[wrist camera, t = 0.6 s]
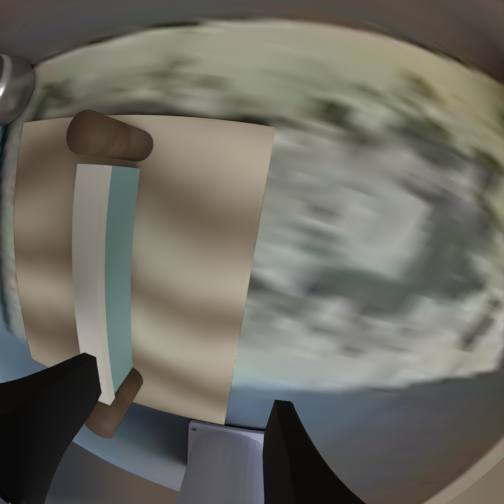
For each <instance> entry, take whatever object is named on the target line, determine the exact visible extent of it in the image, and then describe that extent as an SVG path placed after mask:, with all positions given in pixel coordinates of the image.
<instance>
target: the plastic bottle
mask: <svg viewBox="0 0 504 504" xmlns="http://www.w3.org/2000/svg"><path fill="white" fill-rule="evenodd" d="M34 81H35V80H34V73H33V69H32V67H31V65H30V64H29V63H28V62H26V61H25V60H24V59H22V58H21V57H18V56H13V55H5V54H0V126H4V125H7V124H8V123H10V122H12V121H13V120H15V119H16V118H17V117H18V116H19V115H20V114H21V113H22V111H23V110H24V108H25V107H26V105H27V103H28V101H29V99H30V97H31V94H32V91H33V87H34Z"/></svg>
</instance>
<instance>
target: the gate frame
mask: <svg viewBox="0 0 504 504" xmlns="http://www.w3.org/2000/svg"><path fill="white" fill-rule="evenodd" d="M274 133H275V127H269V126H263V125H257V124H250V123H242V122H235V121H226V120H217V119H207V118H195V117H181V116H160V115H103V114H101V113H98V112H95V111H92V110H84V111H81V112H79V113H78V114H77V115H76V116H75V117H69V118H58V119H48V120H40V121H33V122H26V123H24V125H23V130H22V136H21V142H20V148H19V155H18V163H17V172H16V184H15V201H14V244H15V261H16V273H17V283H18V291H19V298H20V304H21V310H22V316H23V321H24V327H25V331H26V336H27V340H28V345H29V349H30V353H31V356H32V359H33V360H35V361H37V362H39V363H41V364H43V365H45V366H47V367H52V366H54V365H56V364H58V363H61V362H63V361H65V360H67V359H69V358H72V357H74V356H76V355H79V354H80V347H79V341H78V333H77V326H76V317H75V306H74V294H73V276H72V221H73V203H74V191H75V180H76V172H77V164H93V165H108V166H119V167H129V168H139V169H140V174H139V182H138V190H137V198H136V208H135V218H134V230H133V244H132V262H131V345H132V362H133V367H132V369H131V370H130V372H129V373H128V375H127V376H126V378H125V379H124V381H123V382H122V383H121V385H120V386H119V388H118V389H117V391H116V392H115V394H114V395H115V399H114V400H113V402H112V403H111V405H108V404H105V403H103V402H100V401H98V402H97V404H96V406H95V407H94V409H93V411H92V413H91V414H90V416H89V417H88V418H87V420H86V421H85V423H84V424H85V425H86V426H87V427H88V428H89V429H90V430H91V431H92V432H93V433H95V434H97V435H99V436H101V437H104V438H111V437H113V435H114V433H115V431H116V430H117V428H118V426H119V424H120V423H121V421H122V419H123V417H124V416H125V414H126V412H127V410H128V409H129V407H130V405H131V403H132V402H134V403H137V404H140V405H144V406H147V407H150V408H154V409H157V410H161V411H164V412H168V413H172V414H176V415H180V416H184V417H188V418H193V419H197V420H202V421H207V422H212V423H217V424H222V425H224V422H225V417H226V411H227V405H228V400H229V394H230V388H231V382H232V377H233V371H234V365H235V360H236V354H237V348H238V342H239V337H240V331H241V325H242V319H243V314H244V308H245V302H246V296H247V291H248V285H249V279H250V273H251V267H252V262H253V256H254V250H255V244H256V238H257V233H258V227H259V221H260V215H261V209H262V204H263V198H264V192H265V186H266V180H267V174H268V168H269V163H270V157H271V151H272V145H273V139H274Z"/></svg>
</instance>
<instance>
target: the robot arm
mask: <svg viewBox="0 0 504 504" xmlns="http://www.w3.org/2000/svg"><path fill="white" fill-rule="evenodd" d="M101 393H102V391H101V385H100V379H99V373H98V366H97V359H96V357H95V356H93V355H90V354H88V353H85V352H84V353H81V354H79V355H76V356H74V357H72V358H69V359H67V360H65V361H63V362H61V363H58V364H56V365H54V366H52V367H49V368H47V369H45V370H42V371H39V372H37V373H34V374H31V375H29V376H26V377H23V378H20V379H17V380H13V381H9V382H5V383H0V504H9V502H10V503H11V504H44V503H45V500H46V496H47V492H48V490H49V487H50V484H51V481H52V479H53V476H54V474H55V471H56V469H57V467H58V465H59V463H60V461H61V458H62V456H63V454H64V452H65V451H66V449H67V447H68V446H69V444H70V442H71V441H72V440H73V438H74V437H75V435H76V434H77V433H78V431H79V430H80V428H81V427H82V426H83V424H84V423H85V421H86V420H87V418H88V417H89V416H90V414H91V413H92V411H93V409H94V407H95V406H96V404H97V402H98V400H99V397H100V395H101ZM176 504H365V503H364V502H363V501H362V500H361V499H360V498H358V497H357V496H356V495H355V494H354V493H353V492H352V491H350V490H349V489H348V488H347V487H346V486H345V484H344V483H343V482H342V481H341V480H340V479H339V478H338V477H337V476H336V475H335V473H334V472H333V471H332V470H331V469H330V467H329V466H328V465H327V463H326V462H325V461H324V459H323V458H322V456H321V455H320V453H319V452H318V450H317V449H316V447H315V446H314V444H313V442H312V441H311V439H310V437H309V436H308V434H307V432H306V430H305V428H304V426H303V425H302V423H301V421H300V419H299V417H298V414H297V412H296V410H295V408H294V405H293V403H292V402H291V401H281V400H275V401H274V404H273V407H272V411H271V414H270V417H269V420H268V423H267V426H266V429H265V432H264V431H256V430H248V429H241V428H234V427H228V426H223V425H217V424H212V423H207V422H202V421H197V420H191V421H190V422H189V433H188V463H187V467H186V470H185V474H184V478H183V481H182V485H181V488H180V492H179V496H178V500H177V503H176Z"/></svg>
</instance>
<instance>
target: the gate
mask: <svg viewBox="0 0 504 504" xmlns="http://www.w3.org/2000/svg"><path fill="white" fill-rule="evenodd" d="M139 174H140V169H139V168H129V167H119V166H108V165H93V164H77V172H76V180H75V191H74V203H73V221H72V276H73V294H74V306H75V317H76V326H77V333H78V341H79V347H80V354H81V353H84V352H85V353H88V354H90V355H93V356H95V357H96V359H97V366H98V373H99V379H100V385H101V391H102V393H101V395H100V397H99V400H98V401H100V402H103V403H105V404H108V405H111V403H112V402H113V400H114V399H115V395H114V394H115V392H116V391H117V389H118V388H119V386H120V385H121V383H122V382H123V381H124V379H125V378H126V376H127V375H128V373H129V372H130V370H131V369H132V367H133V362H132V345H131V262H132V244H133V230H134V218H135V208H136V198H137V190H138V182H139Z"/></svg>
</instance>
